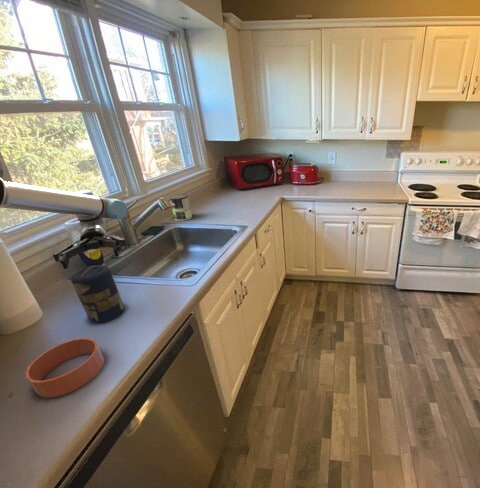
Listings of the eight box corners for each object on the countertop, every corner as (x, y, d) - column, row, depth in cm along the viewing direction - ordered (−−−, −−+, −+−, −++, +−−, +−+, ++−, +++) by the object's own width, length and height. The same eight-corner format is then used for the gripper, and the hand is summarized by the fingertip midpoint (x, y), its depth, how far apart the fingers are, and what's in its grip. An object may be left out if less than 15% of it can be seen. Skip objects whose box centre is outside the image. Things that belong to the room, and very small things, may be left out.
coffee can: (177, 222, 168) (171, 199, 161) (172, 217, 175) (166, 196, 168) (195, 218, 174) (190, 196, 168) (189, 214, 181) (184, 192, 175)
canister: (82, 323, 89) (58, 274, 81) (110, 304, 97) (90, 259, 89) (107, 327, 87) (84, 278, 79) (132, 308, 95) (114, 262, 87)
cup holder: (33, 378, 70) (22, 361, 68) (97, 346, 80) (89, 330, 77) (42, 411, 63) (30, 393, 60) (112, 372, 72) (104, 355, 69)
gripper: (134, 237, 115) (138, 257, 100) (55, 254, 103) (45, 280, 87) (128, 220, 112) (131, 238, 96) (46, 236, 99) (34, 259, 84)
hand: (91, 258), depth 92 cm, fingers open, 13 cm apart
